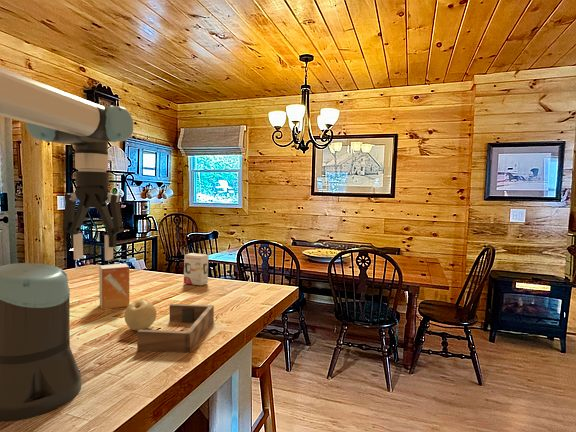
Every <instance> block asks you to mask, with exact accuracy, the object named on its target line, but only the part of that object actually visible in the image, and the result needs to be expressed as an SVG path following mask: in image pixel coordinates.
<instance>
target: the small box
mask: <svg viewBox="0 0 576 432" xmlns="http://www.w3.org/2000/svg"><path fill="white" fill-rule="evenodd" d="M98 271H99V273H98V276H99V281H98V282H99V292H98V293H99V306H100V308H101V310H108V309H109V310H110V309H117V308H123V307H124V308H125V307H126V308H127V307H128V306H129V305H130V266H129V265H128V263H126V262H125V263H113V264H104V265H99V266H98Z"/></svg>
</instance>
